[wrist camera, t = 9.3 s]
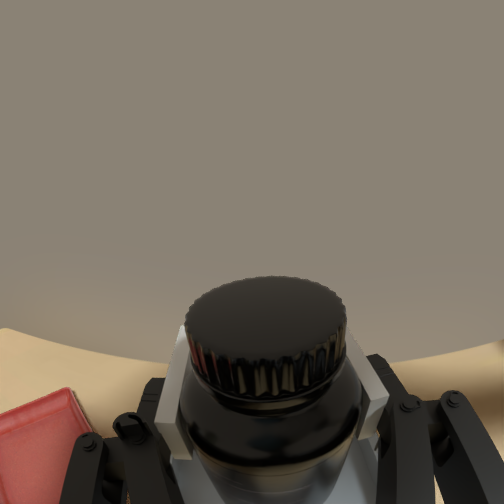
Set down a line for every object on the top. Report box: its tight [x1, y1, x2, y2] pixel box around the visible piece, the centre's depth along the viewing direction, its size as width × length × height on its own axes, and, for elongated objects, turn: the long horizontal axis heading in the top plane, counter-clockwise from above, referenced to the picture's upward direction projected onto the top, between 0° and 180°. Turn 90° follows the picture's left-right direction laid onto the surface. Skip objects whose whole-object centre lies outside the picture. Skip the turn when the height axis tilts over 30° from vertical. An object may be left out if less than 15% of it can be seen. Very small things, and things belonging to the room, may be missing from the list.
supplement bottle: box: [179, 276, 363, 504], centre depth 10 cm, size 7×7×12 cm
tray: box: [170, 432, 379, 504], centre depth 16 cm, size 20×20×4 cm
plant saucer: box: [0, 387, 93, 504], centre depth 16 cm, size 18×18×3 cm
